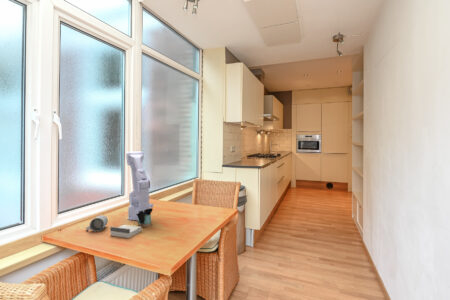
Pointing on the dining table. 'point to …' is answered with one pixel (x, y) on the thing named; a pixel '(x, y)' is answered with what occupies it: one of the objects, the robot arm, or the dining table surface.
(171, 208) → the dining table surface
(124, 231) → the dock
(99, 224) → the ceramic mug
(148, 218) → the teal rectangular block
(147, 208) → the robot arm
